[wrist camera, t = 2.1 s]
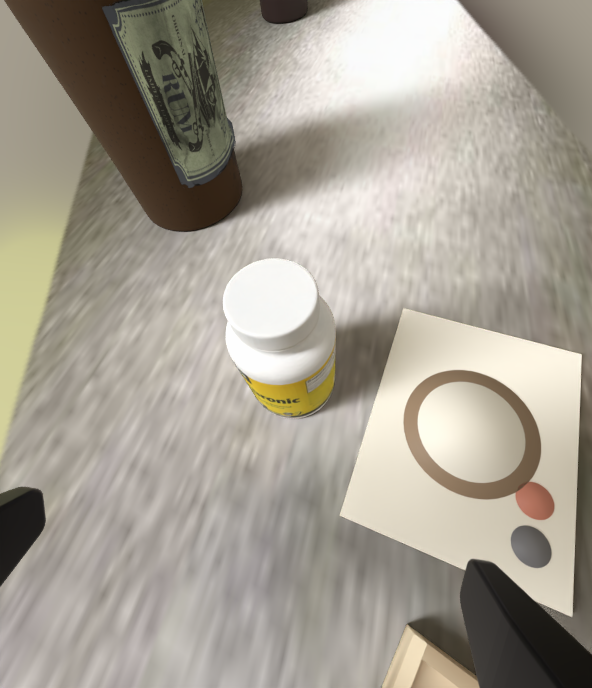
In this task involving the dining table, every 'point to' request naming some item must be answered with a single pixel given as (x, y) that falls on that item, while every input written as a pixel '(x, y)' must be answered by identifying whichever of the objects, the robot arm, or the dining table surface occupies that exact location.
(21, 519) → the robot arm
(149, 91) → the brown rum bottle
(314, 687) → the dining table surface
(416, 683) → the masu tray
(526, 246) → the dining table surface
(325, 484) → the dining table surface
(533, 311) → the dining table surface
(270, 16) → the vinegar
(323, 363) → the supplement bottle
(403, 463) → the card
